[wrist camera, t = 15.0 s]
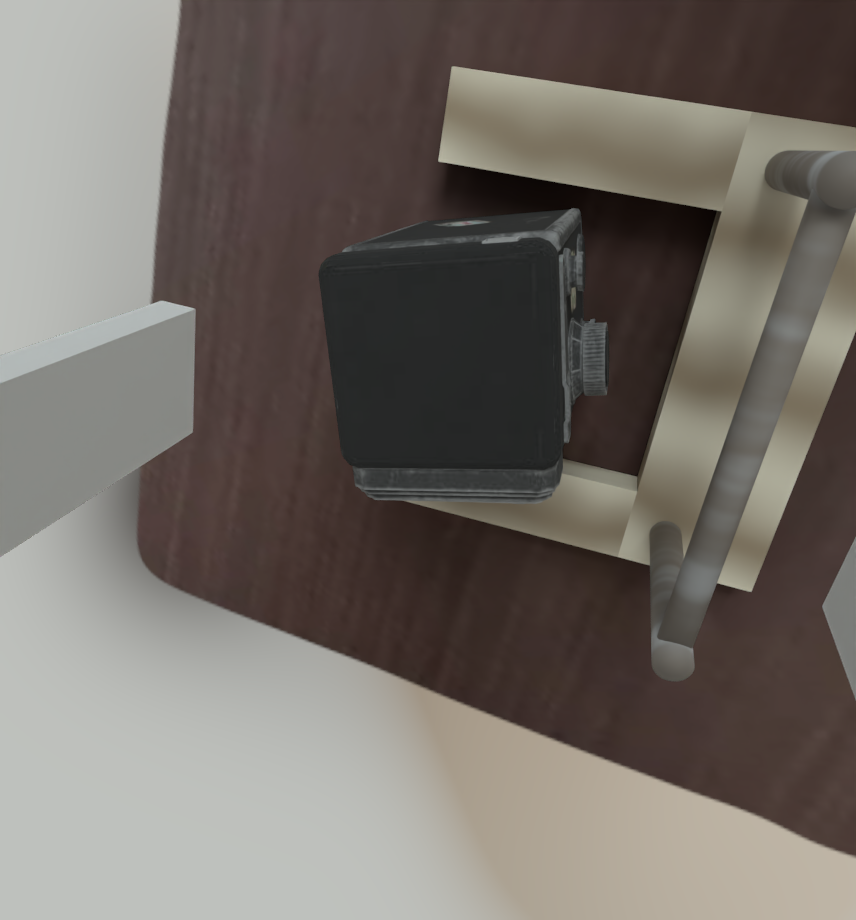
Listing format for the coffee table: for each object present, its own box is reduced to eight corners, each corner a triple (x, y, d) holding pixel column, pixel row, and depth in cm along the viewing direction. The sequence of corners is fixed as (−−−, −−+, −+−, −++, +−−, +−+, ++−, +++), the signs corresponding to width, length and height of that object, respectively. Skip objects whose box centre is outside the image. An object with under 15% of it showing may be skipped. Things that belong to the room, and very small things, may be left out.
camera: (425, 414, 42) (324, 538, 29) (405, 220, 38) (278, 258, 25) (614, 412, 39) (599, 548, 26) (613, 202, 35) (595, 235, 22)
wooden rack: (461, 70, 35) (371, 31, 23) (916, 139, 31) (1075, 134, 20) (400, 483, 44) (313, 601, 33) (746, 572, 41) (787, 741, 29)
